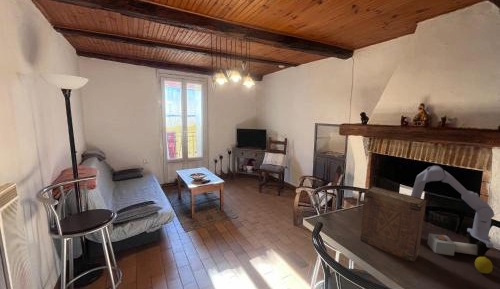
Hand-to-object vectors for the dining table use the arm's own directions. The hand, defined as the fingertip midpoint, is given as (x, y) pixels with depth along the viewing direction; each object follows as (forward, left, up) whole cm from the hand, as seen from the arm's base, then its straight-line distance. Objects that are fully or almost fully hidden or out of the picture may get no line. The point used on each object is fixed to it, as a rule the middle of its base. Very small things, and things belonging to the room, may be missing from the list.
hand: (476, 252), depth 112 cm
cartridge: (-5, 0, -1) cm, 5 cm away
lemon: (-7, -15, -2) cm, 16 cm away
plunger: (-15, 0, +4) cm, 16 cm away
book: (-42, -5, -2) cm, 42 cm away
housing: (-16, 0, -1) cm, 16 cm away
